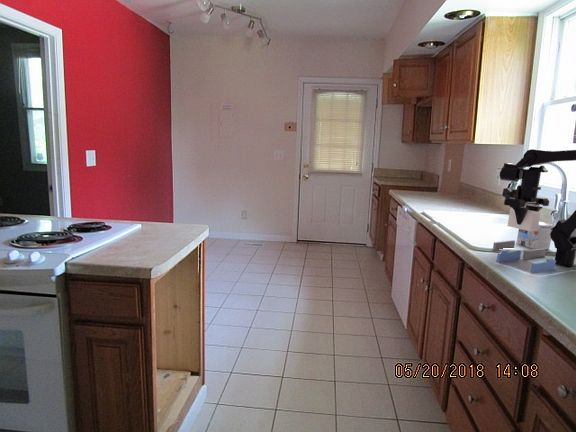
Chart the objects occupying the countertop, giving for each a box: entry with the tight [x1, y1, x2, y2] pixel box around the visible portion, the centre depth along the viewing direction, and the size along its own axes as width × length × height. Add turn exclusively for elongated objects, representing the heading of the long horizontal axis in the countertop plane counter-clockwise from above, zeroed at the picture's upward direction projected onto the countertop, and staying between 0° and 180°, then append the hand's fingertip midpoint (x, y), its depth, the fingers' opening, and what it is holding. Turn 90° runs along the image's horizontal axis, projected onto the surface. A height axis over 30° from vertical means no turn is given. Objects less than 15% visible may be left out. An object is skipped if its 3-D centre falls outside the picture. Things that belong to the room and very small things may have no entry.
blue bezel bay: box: [496, 249, 557, 274], centre depth 136 cm, size 12×13×4 cm
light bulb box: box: [515, 221, 555, 250], centre depth 162 cm, size 11×7×11 cm, turn 14°
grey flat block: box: [492, 239, 547, 260], centre depth 151 cm, size 12×13×3 cm
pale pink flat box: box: [507, 207, 542, 231], centre depth 149 cm, size 4×9×7 cm, turn 26°
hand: (522, 224), depth 149 cm, fingers closed on pale pink flat box, 4 cm apart
